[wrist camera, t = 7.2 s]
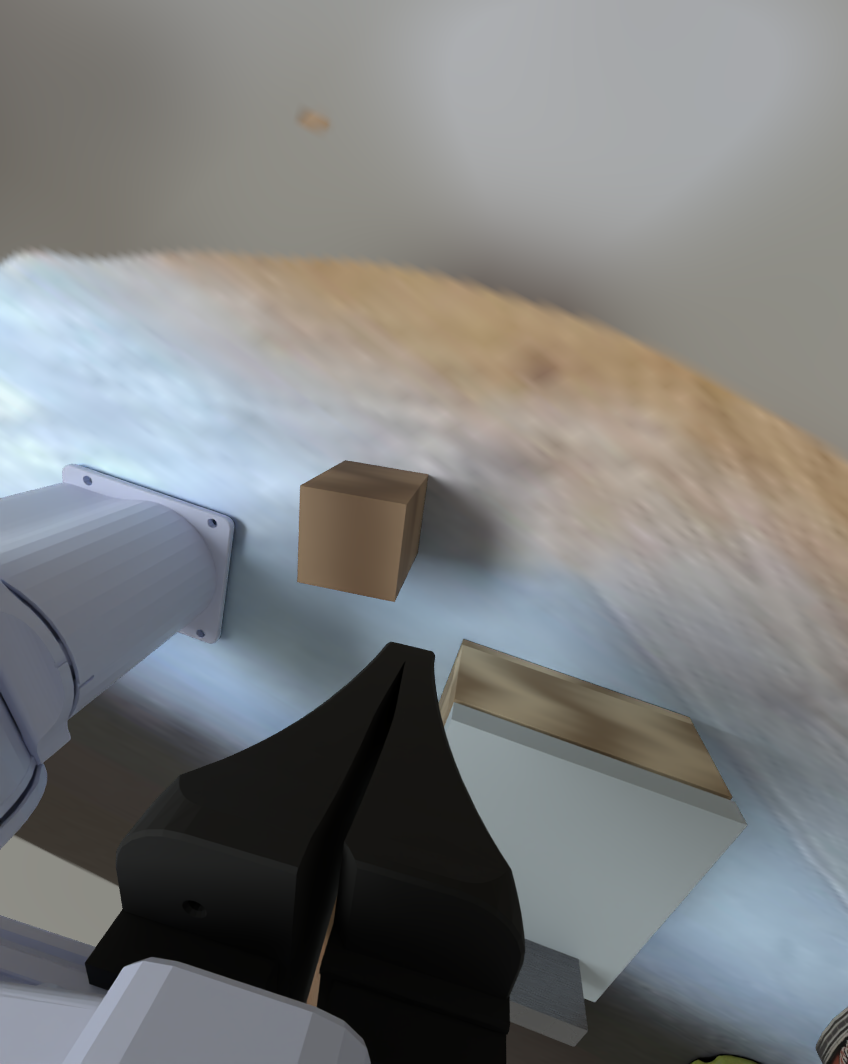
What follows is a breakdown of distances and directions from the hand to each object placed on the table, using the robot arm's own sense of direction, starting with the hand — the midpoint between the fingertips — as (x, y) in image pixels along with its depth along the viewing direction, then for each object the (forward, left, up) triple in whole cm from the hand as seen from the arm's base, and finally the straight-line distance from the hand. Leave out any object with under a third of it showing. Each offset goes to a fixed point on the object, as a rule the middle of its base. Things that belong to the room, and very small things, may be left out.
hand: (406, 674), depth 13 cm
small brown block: (-4, +1, -10) cm, 10 cm away
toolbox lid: (+8, -11, -5) cm, 15 cm away
